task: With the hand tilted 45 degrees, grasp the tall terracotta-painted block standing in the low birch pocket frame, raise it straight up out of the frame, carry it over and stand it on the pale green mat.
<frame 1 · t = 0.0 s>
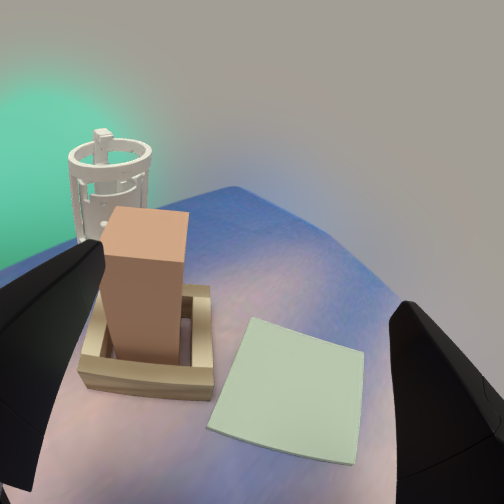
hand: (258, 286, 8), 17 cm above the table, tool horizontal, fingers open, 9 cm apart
block: (151, 345, 23), resting in pocket frame
mat: (297, 390, 23), on the table
pocket frame: (151, 345, 23), on the table
white flanged cylinder housing: (117, 279, 28), on the table
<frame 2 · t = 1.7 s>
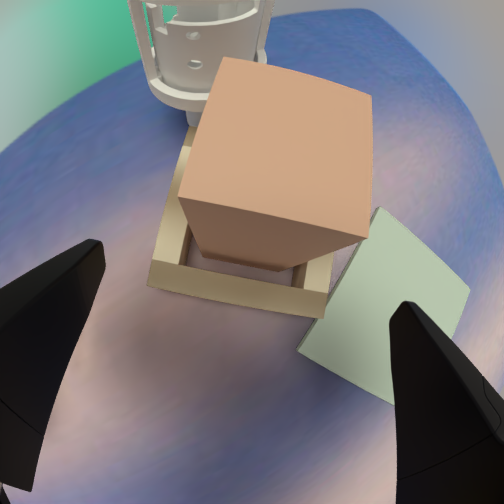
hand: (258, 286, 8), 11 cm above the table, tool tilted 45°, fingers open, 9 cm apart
block: (247, 227, 19), resting in pocket frame
mat: (399, 317, 20), on the table
pocket frame: (248, 227, 19), on the table
white flanged cylinder housing: (206, 117, 20), on the table
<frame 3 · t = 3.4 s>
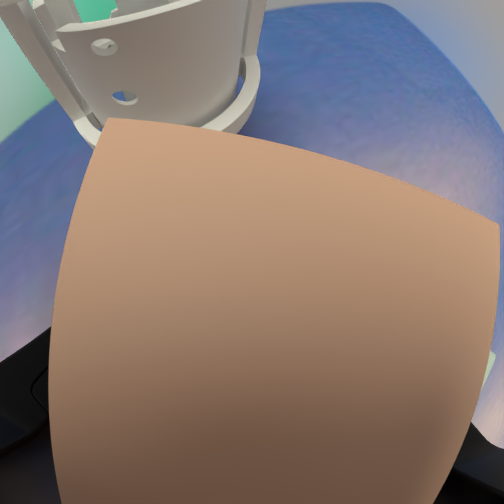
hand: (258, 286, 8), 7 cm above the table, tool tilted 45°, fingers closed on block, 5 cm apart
block: (235, 315, 14), resting in pocket frame, touching gripper
white flanged cylinder housing: (179, 152, 15), on the table
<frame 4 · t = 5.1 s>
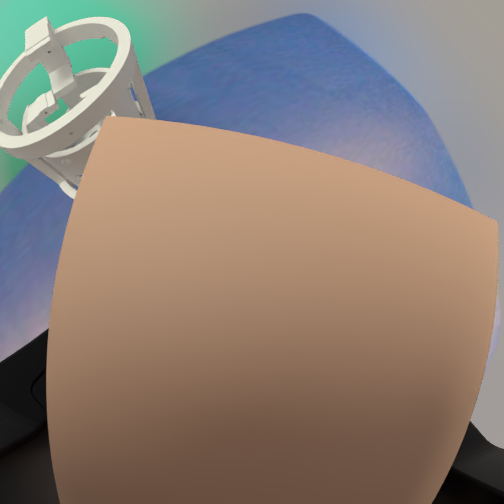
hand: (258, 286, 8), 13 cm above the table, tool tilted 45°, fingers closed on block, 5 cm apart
block: (234, 315, 14), point 7 cm above the table, touching gripper
white flanged cylinder housing: (132, 184, 21), on the table
when the fingers open (8 cm above the table, at t = 7.2 s): block stays where it is, resting on mat.
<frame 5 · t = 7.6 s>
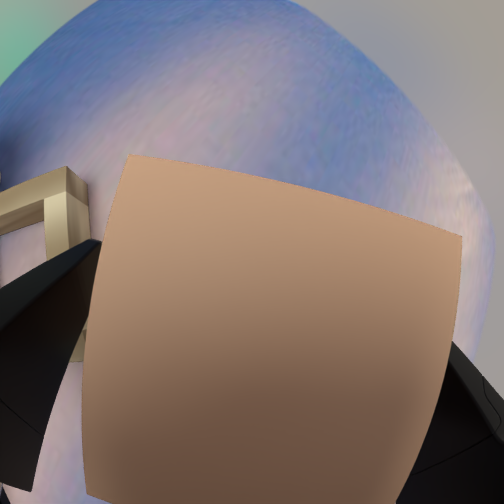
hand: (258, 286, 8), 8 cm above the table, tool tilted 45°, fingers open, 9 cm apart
block: (234, 314, 15), point 1 cm above the table, touching mat
pocket frame: (31, 278, 14), on the table
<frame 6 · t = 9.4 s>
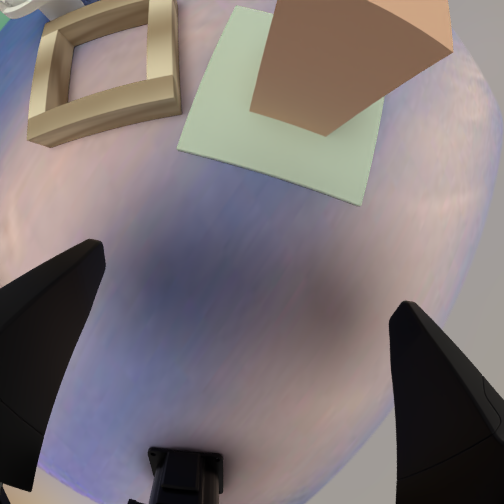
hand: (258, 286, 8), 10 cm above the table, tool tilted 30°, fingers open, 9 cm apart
block: (297, 90, 16), point 1 cm above the table, touching mat
mat: (295, 93, 17), on the table
pocket frame: (110, 67, 15), on the table
white flanged cylinder housing: (70, 16, 14), on the table
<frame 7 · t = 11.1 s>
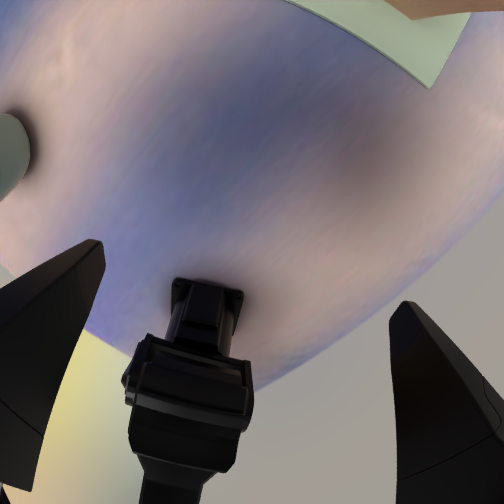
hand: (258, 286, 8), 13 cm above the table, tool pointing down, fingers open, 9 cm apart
cup: (15, 143, 18), on the table
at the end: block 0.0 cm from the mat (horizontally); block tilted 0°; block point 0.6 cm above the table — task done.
